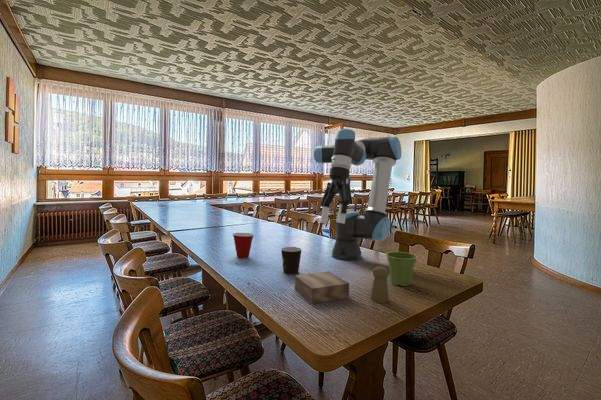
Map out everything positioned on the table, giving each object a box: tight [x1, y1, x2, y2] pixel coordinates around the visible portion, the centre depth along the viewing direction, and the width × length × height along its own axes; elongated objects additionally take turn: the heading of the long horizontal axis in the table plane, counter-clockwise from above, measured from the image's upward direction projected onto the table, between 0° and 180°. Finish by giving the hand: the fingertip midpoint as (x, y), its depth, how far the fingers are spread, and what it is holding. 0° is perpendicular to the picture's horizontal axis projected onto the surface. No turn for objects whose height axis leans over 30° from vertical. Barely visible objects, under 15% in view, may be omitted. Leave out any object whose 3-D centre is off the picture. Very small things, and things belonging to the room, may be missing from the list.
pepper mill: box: [370, 266, 390, 304], centre depth 103 cm, size 6×6×11 cm
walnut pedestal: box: [294, 271, 350, 304], centre depth 108 cm, size 14×14×5 cm
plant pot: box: [385, 251, 419, 287], centre depth 120 cm, size 12×12×11 cm
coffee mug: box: [280, 246, 302, 275], centre depth 132 cm, size 12×9×10 cm
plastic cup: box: [232, 232, 255, 259], centre depth 154 cm, size 11×11×12 cm
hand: (331, 223), depth 115 cm, fingers open, 13 cm apart
